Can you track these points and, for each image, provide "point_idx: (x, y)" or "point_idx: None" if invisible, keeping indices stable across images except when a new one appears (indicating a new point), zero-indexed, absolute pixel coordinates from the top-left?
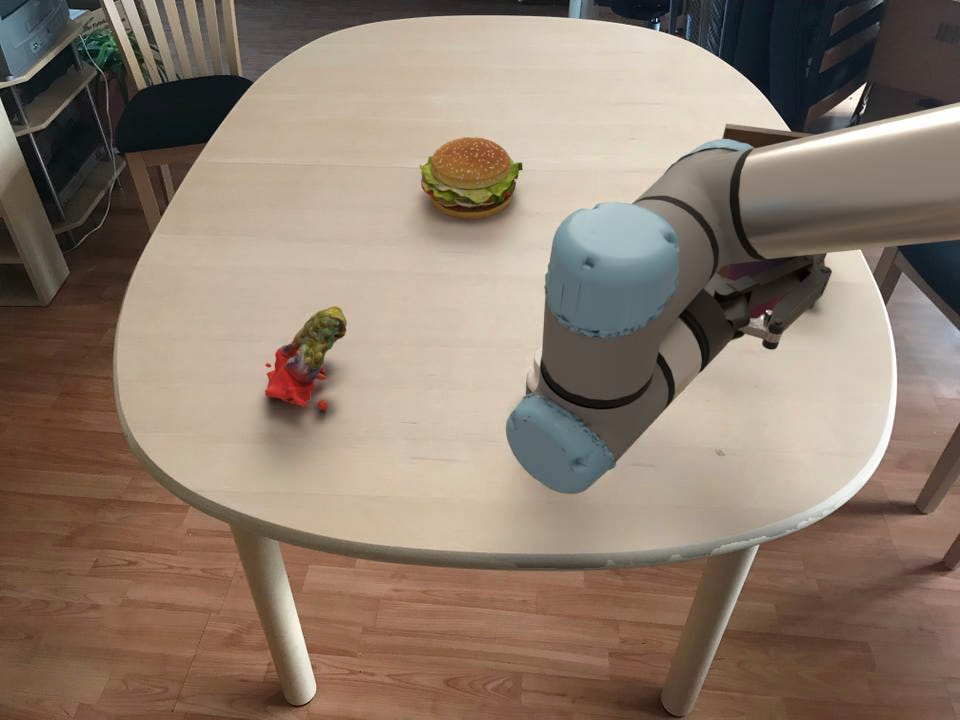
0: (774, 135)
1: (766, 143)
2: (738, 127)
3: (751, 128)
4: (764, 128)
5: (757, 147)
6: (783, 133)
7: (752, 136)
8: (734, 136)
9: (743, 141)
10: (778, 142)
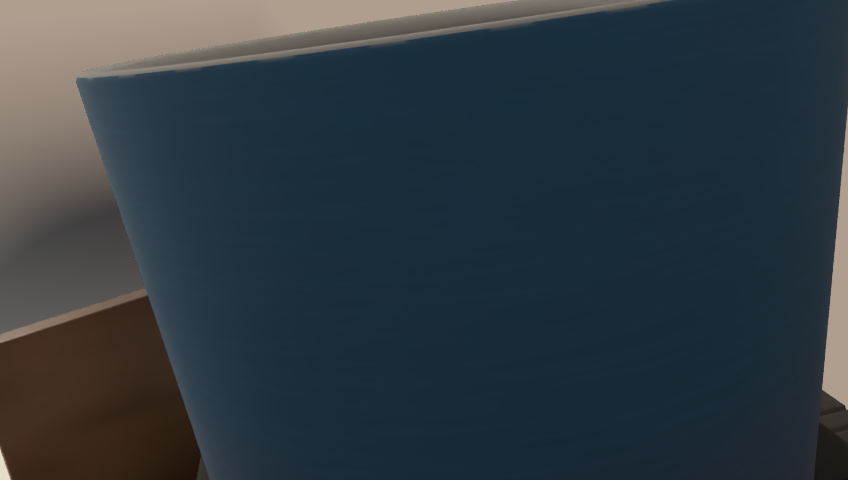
0: (116, 309)
1: (108, 338)
2: (7, 336)
3: (45, 323)
4: (80, 309)
5: (91, 359)
6: (135, 296)
7: (60, 339)
8: (9, 362)
9: (44, 363)
10: (136, 321)
